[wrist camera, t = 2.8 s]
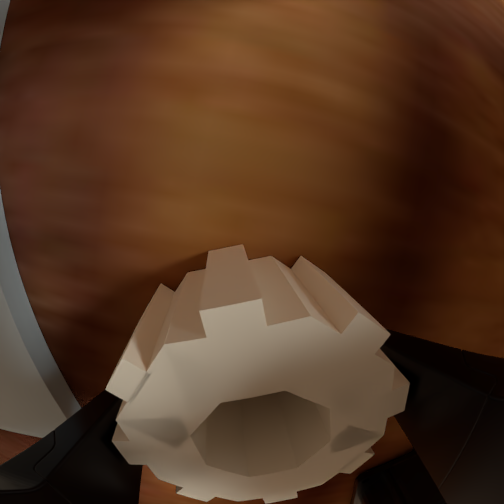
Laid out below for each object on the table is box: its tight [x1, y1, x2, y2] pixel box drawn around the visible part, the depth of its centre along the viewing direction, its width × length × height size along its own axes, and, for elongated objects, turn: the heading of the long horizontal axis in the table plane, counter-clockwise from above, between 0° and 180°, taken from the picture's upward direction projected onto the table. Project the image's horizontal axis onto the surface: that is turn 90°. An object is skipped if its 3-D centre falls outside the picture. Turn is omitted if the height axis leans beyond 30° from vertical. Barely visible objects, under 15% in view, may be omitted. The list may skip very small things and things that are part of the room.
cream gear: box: [105, 244, 410, 504], centre depth 7 cm, size 7×7×4 cm
